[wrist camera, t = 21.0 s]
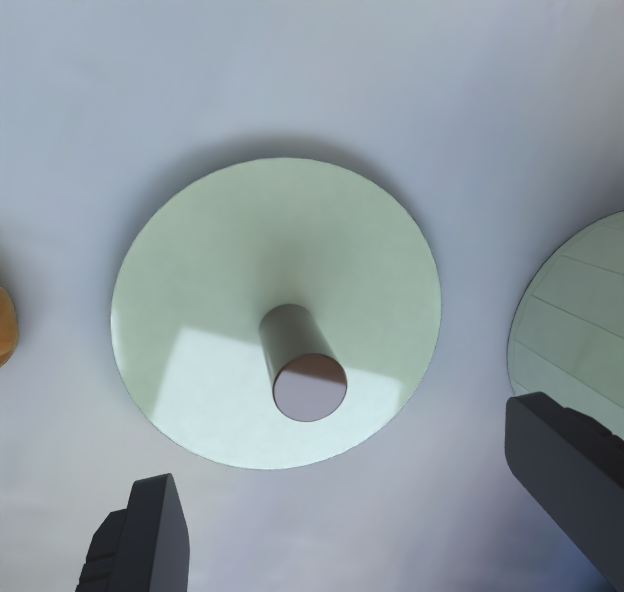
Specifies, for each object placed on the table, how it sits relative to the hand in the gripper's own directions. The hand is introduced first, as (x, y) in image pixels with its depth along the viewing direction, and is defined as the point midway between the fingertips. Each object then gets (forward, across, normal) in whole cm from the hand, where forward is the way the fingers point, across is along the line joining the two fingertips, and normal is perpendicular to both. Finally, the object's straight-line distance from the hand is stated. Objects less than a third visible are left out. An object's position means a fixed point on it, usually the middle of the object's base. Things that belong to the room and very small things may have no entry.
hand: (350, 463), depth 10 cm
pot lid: (+9, 0, 0) cm, 9 cm away
